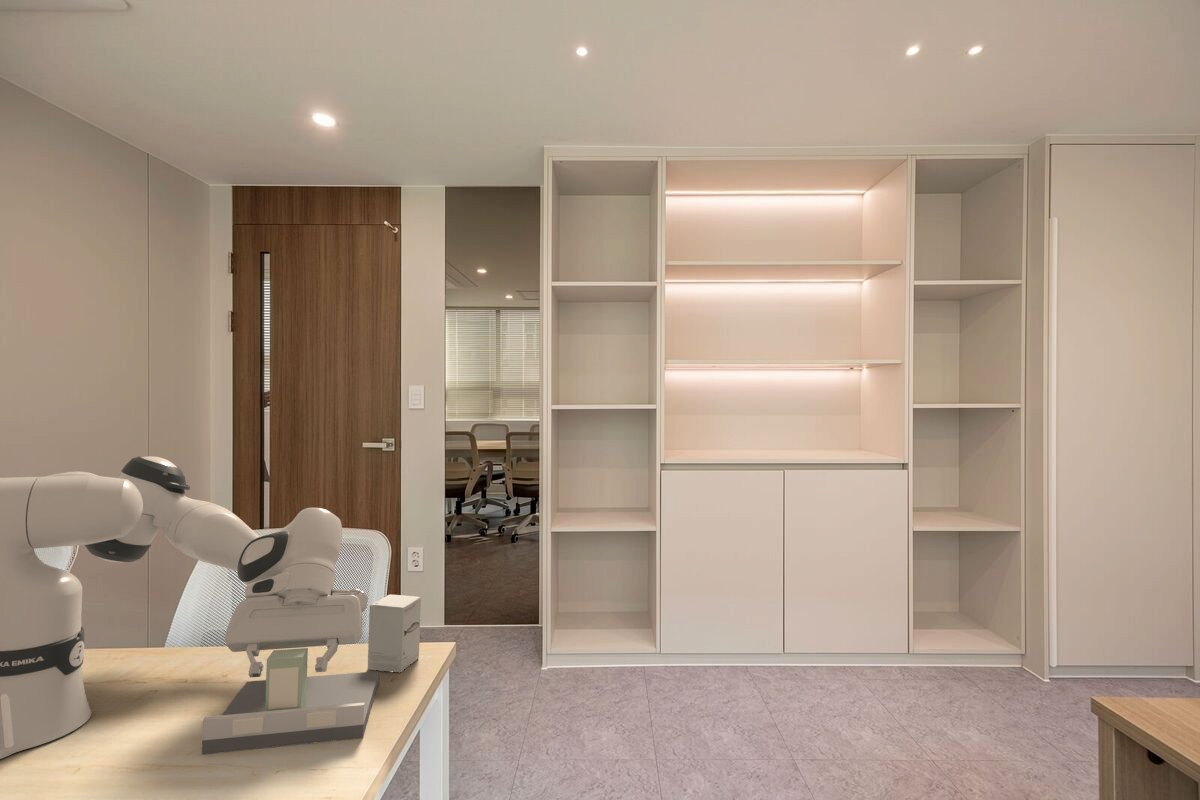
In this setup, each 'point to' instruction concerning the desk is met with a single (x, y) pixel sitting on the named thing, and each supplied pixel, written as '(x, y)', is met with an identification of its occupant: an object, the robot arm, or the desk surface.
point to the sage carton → (286, 679)
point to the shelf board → (294, 715)
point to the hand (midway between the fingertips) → (287, 673)
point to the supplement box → (394, 633)
